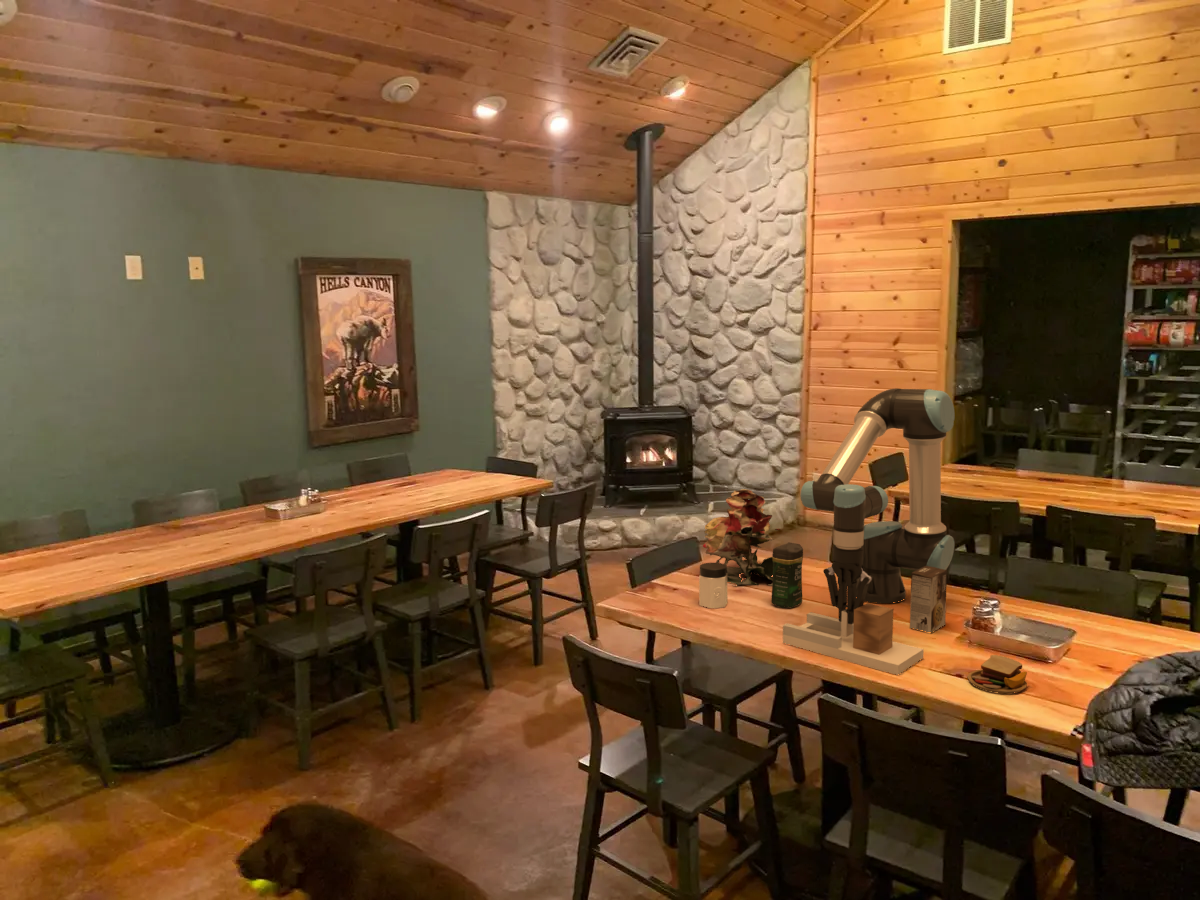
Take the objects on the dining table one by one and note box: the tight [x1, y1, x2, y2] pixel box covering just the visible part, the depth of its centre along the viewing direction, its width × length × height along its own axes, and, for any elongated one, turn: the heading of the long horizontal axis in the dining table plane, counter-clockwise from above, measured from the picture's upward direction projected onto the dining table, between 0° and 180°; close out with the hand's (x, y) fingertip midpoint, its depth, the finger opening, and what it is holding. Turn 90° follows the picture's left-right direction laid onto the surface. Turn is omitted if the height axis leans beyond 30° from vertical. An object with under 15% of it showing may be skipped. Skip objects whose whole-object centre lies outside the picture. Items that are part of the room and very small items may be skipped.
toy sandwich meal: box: [967, 654, 1028, 694], centre depth 201 cm, size 12×14×5 cm
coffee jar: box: [770, 542, 804, 609], centre depth 260 cm, size 10×8×19 cm
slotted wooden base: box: [782, 612, 925, 676], centre depth 223 cm, size 32×14×5 cm, turn 46°
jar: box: [698, 562, 728, 609], centre depth 261 cm, size 9×8×12 cm
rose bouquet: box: [702, 488, 781, 587], centre depth 289 cm, size 26×29×30 cm
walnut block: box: [853, 602, 894, 655], centre depth 217 cm, size 7×7×10 cm
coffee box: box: [909, 566, 948, 633], centre depth 238 cm, size 9×6×16 cm
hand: (846, 634), depth 223 cm, fingers closed
